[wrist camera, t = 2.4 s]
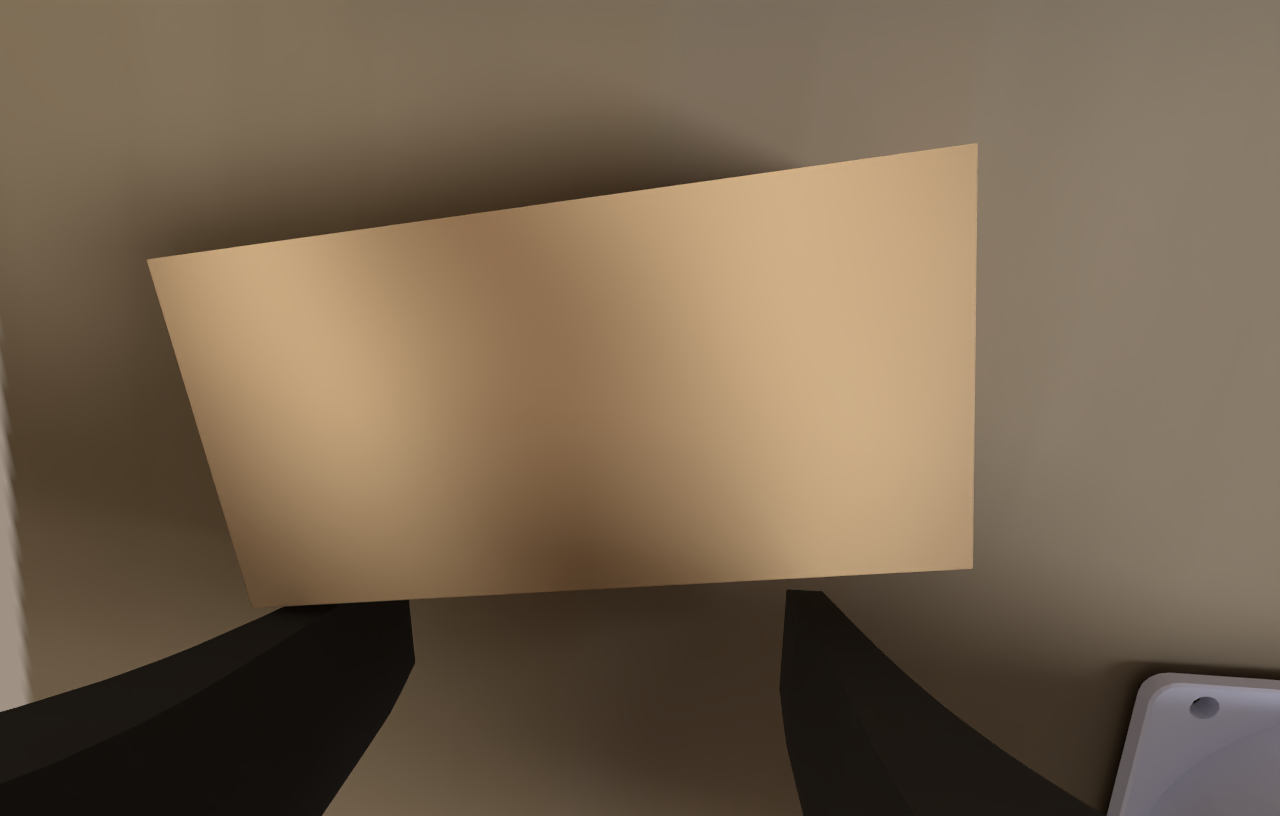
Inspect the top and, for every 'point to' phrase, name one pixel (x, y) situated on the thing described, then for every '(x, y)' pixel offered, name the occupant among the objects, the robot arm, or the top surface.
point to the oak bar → (597, 388)
